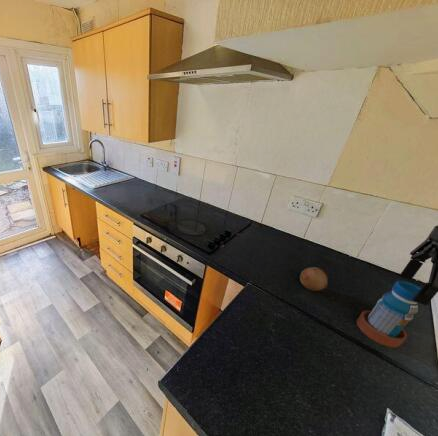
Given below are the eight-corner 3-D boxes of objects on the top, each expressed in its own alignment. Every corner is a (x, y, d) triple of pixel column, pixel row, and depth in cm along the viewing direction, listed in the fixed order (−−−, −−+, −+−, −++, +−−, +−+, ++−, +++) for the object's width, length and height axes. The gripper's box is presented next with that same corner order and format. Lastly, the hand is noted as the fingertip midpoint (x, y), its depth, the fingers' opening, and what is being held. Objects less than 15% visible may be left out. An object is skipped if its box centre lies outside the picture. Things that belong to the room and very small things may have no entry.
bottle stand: (395, 328, 82) (401, 321, 80) (405, 354, 73) (412, 347, 71) (354, 312, 87) (359, 305, 86) (358, 334, 78) (364, 327, 77)
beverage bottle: (365, 332, 78) (397, 289, 69) (361, 316, 85) (390, 274, 76) (398, 346, 74) (436, 302, 65) (391, 327, 81) (425, 285, 72)
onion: (316, 299, 92) (327, 280, 88) (292, 284, 100) (300, 266, 95) (326, 290, 97) (336, 272, 93) (302, 277, 105) (310, 259, 100)
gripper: (421, 211, 73) (386, 264, 82) (457, 245, 54) (407, 308, 63) (456, 218, 69) (415, 273, 78) (507, 257, 50) (446, 322, 60)
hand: (411, 289), depth 71 cm, fingers open, 13 cm apart
